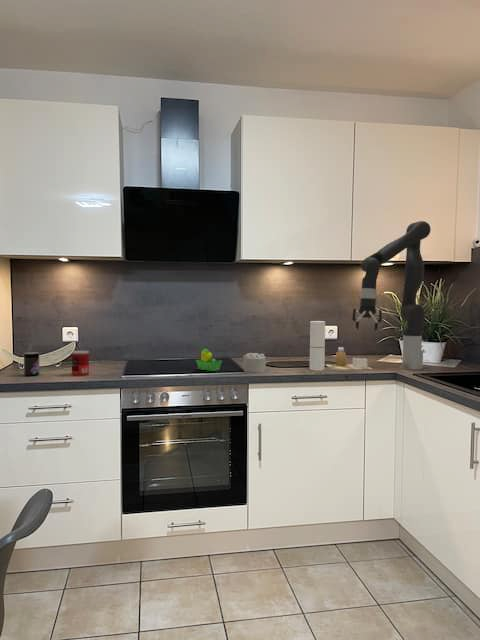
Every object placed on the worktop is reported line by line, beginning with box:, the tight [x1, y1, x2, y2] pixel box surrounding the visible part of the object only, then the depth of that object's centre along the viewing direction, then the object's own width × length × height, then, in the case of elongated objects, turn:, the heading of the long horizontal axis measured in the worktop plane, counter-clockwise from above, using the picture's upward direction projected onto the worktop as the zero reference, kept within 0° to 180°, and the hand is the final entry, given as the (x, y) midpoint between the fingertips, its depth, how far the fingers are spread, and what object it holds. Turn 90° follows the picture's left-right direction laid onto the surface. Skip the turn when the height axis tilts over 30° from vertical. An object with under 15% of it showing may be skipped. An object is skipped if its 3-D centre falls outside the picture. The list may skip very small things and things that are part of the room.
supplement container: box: [23, 351, 41, 377], centre depth 225 cm, size 7×7×10 cm
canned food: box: [71, 350, 90, 377], centre depth 227 cm, size 8×8×11 cm
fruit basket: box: [195, 348, 223, 372], centre depth 241 cm, size 11×9×11 cm
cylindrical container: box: [309, 320, 326, 374], centre depth 237 cm, size 7×7×25 cm
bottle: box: [335, 346, 347, 367], centre depth 249 cm, size 5×5×10 cm
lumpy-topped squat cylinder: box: [242, 352, 266, 374], centre depth 241 cm, size 10×13×9 cm
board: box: [324, 363, 373, 370], centre depth 247 cm, size 20×16×2 cm
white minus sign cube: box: [352, 357, 368, 368], centre depth 244 cm, size 6×6×5 cm
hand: (366, 329), depth 245 cm, fingers open, 8 cm apart
